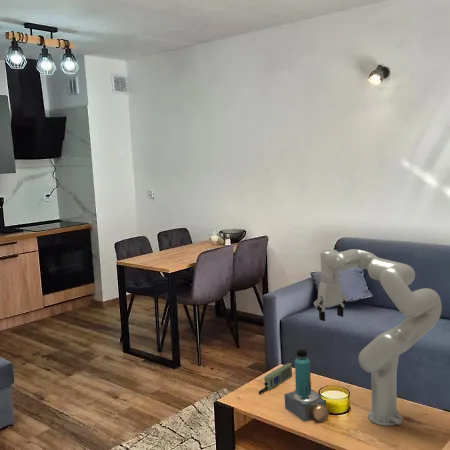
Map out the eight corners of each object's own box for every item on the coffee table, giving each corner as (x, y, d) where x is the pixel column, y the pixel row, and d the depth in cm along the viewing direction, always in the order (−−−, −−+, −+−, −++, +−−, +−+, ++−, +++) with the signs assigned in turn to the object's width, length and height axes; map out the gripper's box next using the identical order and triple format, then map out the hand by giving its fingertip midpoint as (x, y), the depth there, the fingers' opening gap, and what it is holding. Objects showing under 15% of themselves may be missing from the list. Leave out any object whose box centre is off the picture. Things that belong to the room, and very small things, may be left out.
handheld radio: (293, 376, 247) (262, 396, 229) (287, 375, 249) (256, 394, 231) (292, 363, 247) (261, 381, 228) (287, 362, 249) (255, 380, 230)
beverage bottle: (306, 401, 207) (305, 354, 205) (292, 397, 211) (290, 351, 209) (314, 395, 212) (313, 349, 210) (300, 391, 216) (299, 346, 214)
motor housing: (334, 417, 206) (334, 402, 205) (310, 425, 201) (310, 410, 200) (308, 400, 222) (307, 386, 221) (285, 407, 217) (284, 393, 216)
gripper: (340, 274, 223) (341, 312, 225) (308, 280, 215) (309, 319, 217) (352, 277, 216) (353, 316, 218) (319, 283, 208) (320, 324, 210)
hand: (331, 318), depth 217 cm, fingers open, 9 cm apart
